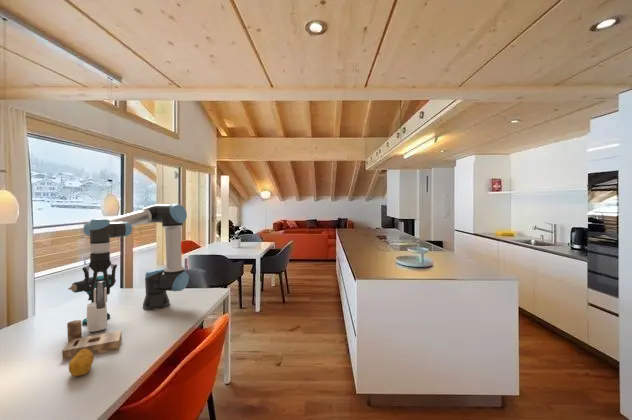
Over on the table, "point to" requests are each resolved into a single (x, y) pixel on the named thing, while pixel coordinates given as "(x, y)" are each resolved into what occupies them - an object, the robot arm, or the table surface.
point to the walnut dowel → (74, 329)
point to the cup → (96, 317)
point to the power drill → (81, 287)
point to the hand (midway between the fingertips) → (100, 302)
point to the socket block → (93, 344)
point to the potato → (81, 363)
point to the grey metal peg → (100, 294)
